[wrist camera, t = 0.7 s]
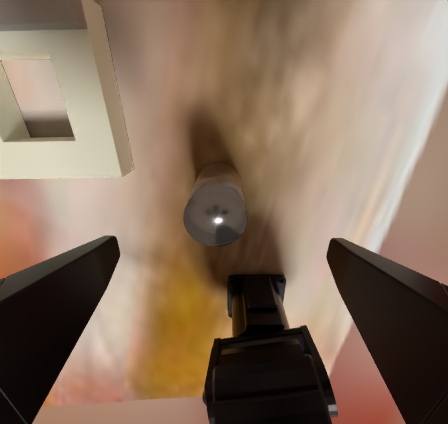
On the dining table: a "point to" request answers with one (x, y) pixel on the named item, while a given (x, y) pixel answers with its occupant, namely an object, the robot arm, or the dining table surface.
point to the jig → (63, 92)
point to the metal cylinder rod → (216, 206)
